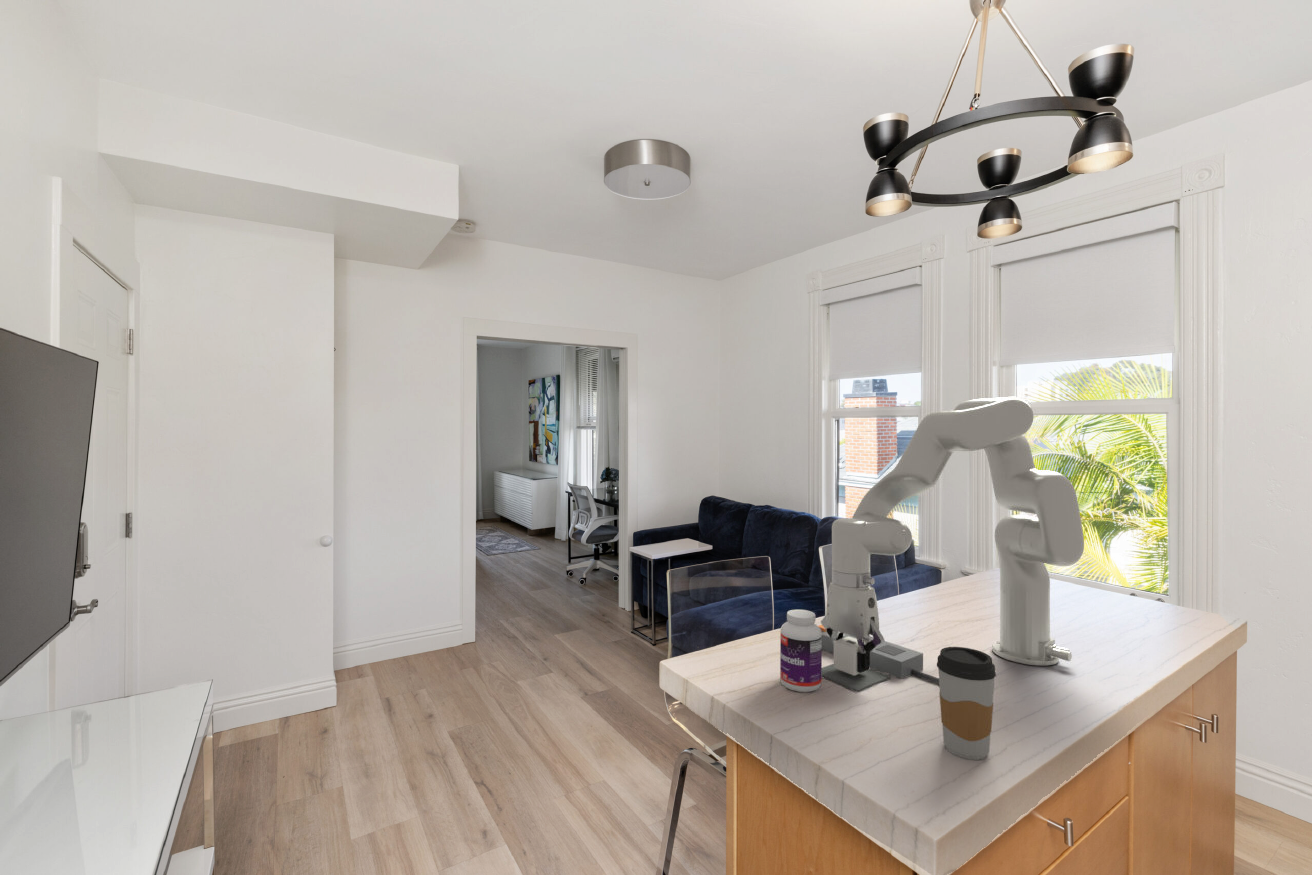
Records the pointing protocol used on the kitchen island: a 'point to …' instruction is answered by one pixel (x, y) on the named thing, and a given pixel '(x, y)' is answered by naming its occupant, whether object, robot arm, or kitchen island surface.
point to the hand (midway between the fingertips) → (851, 665)
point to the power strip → (888, 658)
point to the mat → (854, 678)
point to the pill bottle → (801, 652)
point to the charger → (846, 655)
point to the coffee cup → (966, 700)
